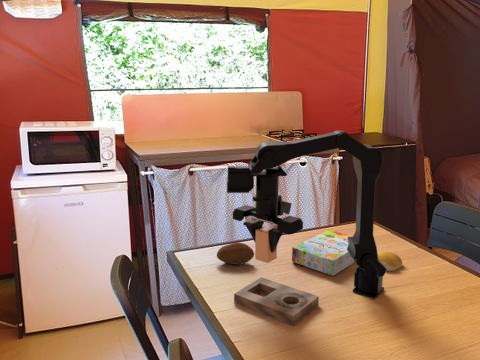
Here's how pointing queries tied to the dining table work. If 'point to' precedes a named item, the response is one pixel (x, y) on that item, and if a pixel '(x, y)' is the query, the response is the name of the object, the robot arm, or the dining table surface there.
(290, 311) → the socket board
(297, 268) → the dining table surface
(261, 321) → the dining table surface
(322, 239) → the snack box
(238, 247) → the potato
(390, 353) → the dining table surface
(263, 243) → the square peg
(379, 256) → the bread roll
